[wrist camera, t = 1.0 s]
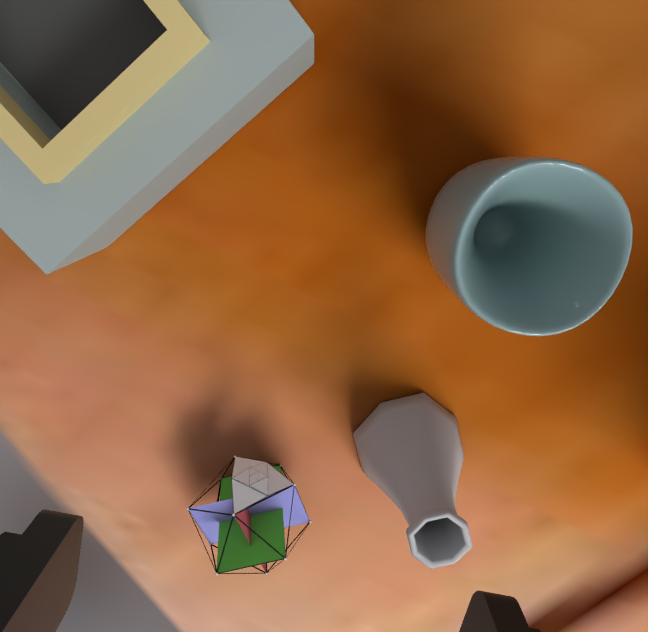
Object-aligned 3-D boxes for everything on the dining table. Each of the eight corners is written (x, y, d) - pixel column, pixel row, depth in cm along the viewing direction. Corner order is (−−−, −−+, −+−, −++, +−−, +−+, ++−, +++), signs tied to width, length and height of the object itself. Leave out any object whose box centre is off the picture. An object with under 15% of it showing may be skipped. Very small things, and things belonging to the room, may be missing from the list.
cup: (442, 137, 32) (496, 130, 23) (564, 181, 33) (667, 193, 23) (394, 264, 34) (426, 308, 25) (511, 303, 35) (586, 360, 25)
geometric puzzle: (323, 560, 38) (304, 570, 30) (224, 582, 38) (181, 597, 30) (303, 453, 40) (281, 438, 33) (210, 474, 40) (168, 464, 33)
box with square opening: (134, -175, 28) (46, -334, 19) (314, 63, 31) (314, 26, 22) (-79, 48, 30) (-246, 3, 21) (107, 246, 34) (30, 282, 25)
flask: (333, 428, 37) (340, 523, 28) (428, 372, 36) (469, 451, 27) (389, 507, 39) (413, 622, 29) (480, 456, 38) (537, 558, 28)
